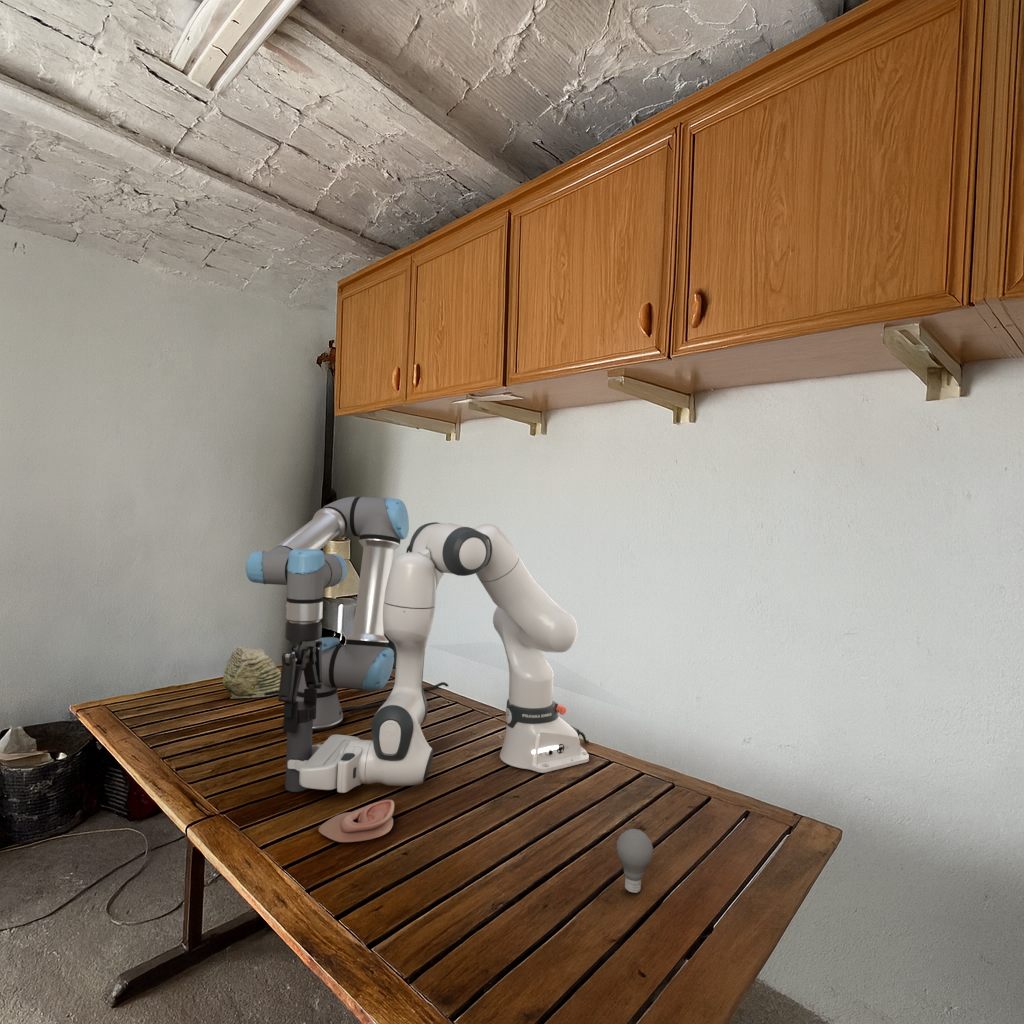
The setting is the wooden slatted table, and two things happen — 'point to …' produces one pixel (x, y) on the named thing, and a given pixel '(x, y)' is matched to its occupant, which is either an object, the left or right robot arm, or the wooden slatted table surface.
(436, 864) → the wooden slatted table surface
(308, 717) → the lid
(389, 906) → the wooden slatted table surface
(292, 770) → the jar
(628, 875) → the light bulb
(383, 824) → the anatomical model
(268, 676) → the fossil
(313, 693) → the left robot arm
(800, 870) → the wooden slatted table surface
